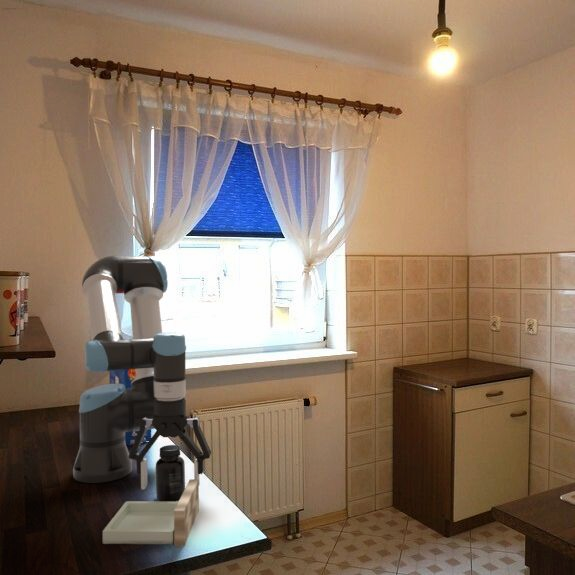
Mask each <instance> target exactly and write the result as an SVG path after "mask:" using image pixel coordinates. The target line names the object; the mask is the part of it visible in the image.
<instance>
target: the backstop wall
mask: <svg viewBox="0 0 575 575" xmlns="http://www.w3.org/2000/svg"><path fill="white" fill-rule="evenodd" d="M199 486H200V485H199V479H189V480H188V482H187V484H186V485H185V490H184V492H183V494H182V496H181V498H180V500H179V501H177V502H178V504H177V506H176V508H175V510H174V543H173V546H174V547H185V545H186V543H187V541H188V538H189V536H190V533H191V531H192V528H193V526H194V523H195V520H196V519H197V516H198V514H199V510H200V508H199V506H200V504H199V502H200V500H199V499H200V498H199V496H200V495H199V493H200V489H199Z"/></svg>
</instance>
